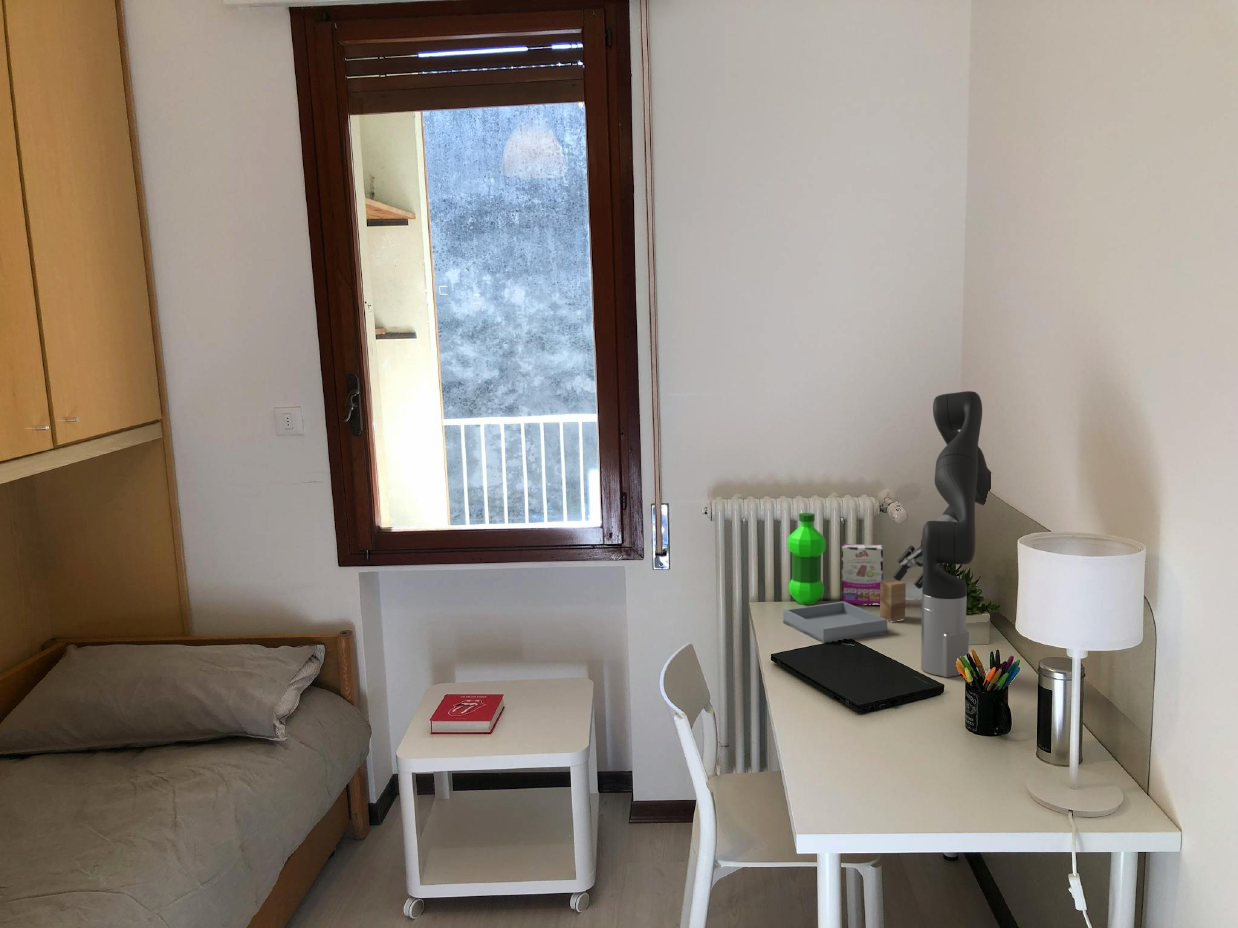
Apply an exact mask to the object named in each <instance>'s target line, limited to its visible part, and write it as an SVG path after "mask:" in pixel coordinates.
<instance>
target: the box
mask: <svg viewBox="0 0 1238 928" xmlns="http://www.w3.org/2000/svg"><path fill="white" fill-rule="evenodd" d="M782 610H783V611H782V613H783V615H782V617H783V618H782V620H783V621H782V623H783V624H785V625H787V626H788V627H791V628H793V629H794V630H796V631H799V632H800V633H803V634H804V635H807V636H808V637H811V638H812V639H814V640H816V641H817V642H820V643H822V644H826V642H828V643H833V642H832V641H834V642H838V640H841V639H847V640H851V639H852V640H854V639H858V638H864V637H871V636H872V637H873V636H877V635H885V634H884V633H886V634H888V621H887V619H885V618H882V617H880V615H877V614H874V613H872V612H870V611H867V610H866V609H863V608H861V607H858V606H857V605H851V604H849V603H846V602H844V601H843V602H842V601H837V602H831V603H830V602H829V603H823V604H815V605H807V606H801V607H800V606H799V607H793V608H786V609H785V608H784V609H782ZM841 641H842V640H841Z"/></svg>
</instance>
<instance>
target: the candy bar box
mask: <svg viewBox="0 0 1238 928" xmlns="http://www.w3.org/2000/svg"><path fill="white" fill-rule="evenodd" d="M881 581H884V545H883V544H855V543H853V544H851V543H850V544H849V543H842V546H841V602H843V601H844V602H846V603H849V604H851V605H854V606H864V605H863V604H867V605H869V604H871V605H872V604H873V603H878V604H880V583H881Z"/></svg>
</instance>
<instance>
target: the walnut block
mask: <svg viewBox="0 0 1238 928" xmlns="http://www.w3.org/2000/svg"><path fill="white" fill-rule="evenodd" d="M906 586H907V585H906V582H904V581H901V580H900V581H898V580H896V579H895V578H893V579H888V580H887V579H886V580H883V581H881V583H880V606H879V609H880V610H879V616H880V617H882V618H885V619H887V620H888V621H897V620H901V619H905V620H906V593H907V591H906V589H907V587H906ZM888 621H887V622H888Z"/></svg>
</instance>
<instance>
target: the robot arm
mask: <svg viewBox="0 0 1238 928" xmlns="http://www.w3.org/2000/svg"><path fill="white" fill-rule="evenodd" d="M982 402H983V401H982V399H981V397H980V395H979V394H978V393H977V392H976V391H972V390H971V391H970V390H967V391H960V392H959V391H958V392H952V393H951V392H950V393H944V394H939V395H937V396H935V398H934V399H933V402H932V403H933V404H932V412H933V413H932V414H933V415H932V416H933V420H934V422H935V425H936V428H937V430H938V432H939V433H940V435H941V437H942V439H943V440H944V442H945V443H946V446H945V447H943V449H942V450H941V451H940V453H939V454H938V456H937V458H936V462H935V470H934V485H935V488H936V490H937V491H938V493H939V495H940V496H941V497H942V498H943V500H944V501H945V502H946V503H947V504H948V507H947V508H946V509H945V510H944V511H943V513H942V514H941V515H940V516H939V517H938V518H937V519H936V520H927V521H926V522H925V523H924V525H923V528H922V532H921V539H920V546H919V547H917V548H916V547H915V546H913V545H912V544H911V545H909V546H908V547H907V548H906V550H905V551H904V552H903V553H902V554H901V556H900V557H899V558H898V559H897V562H898V564H899V567H898V568H897V570H896V571H895V572H894V574H893V579H896V580H898V581H901V580H902V579H904V576H906V574H907V573H908V571H909V570H911V569H916V568H918V567H920V568H921V567H922V572H921V573H920V575H919V576H918V577H917V578H916V580H915V581H914V582H913V583H914V584H913V585H914V586H915V587H916V588H917V589H920V590H921V589H922V594H921V631H920V634H921V639H920V641H921V643H920V651H921V652H920V668H921V670H922V671H924V672H926V673H927V674H931V675H935V676H941V677H943V678H951V677H955V676H961V675H960V674H959V672H958V670H957V667H956V661H957V658H959V657H960V656H965V655H967V654H968V655H969V649H970V648H969V647H970V646H969V644H970V633H969V631H968V630H966V629H967V597H968V596H967V595H968V593H967V592H968V586H967V583H966V581H965V580H963V579H962V578H960V577H957V576H955V575H952V574H950V573H948V572H946V571H945V570H942V569H941V568H942V566H944V564H947V565H968V564H970V563H972V562H973V559H974V556H975V552H976V503H977V504H978V505H982V506H984V504H985V502H986V498H987V494H988V491H990V489H991V473H992V471H991V470H990V469H989V468H988V465H987V462H986V459H985V455H984V452H983V451H982V449H981V447H979V440H980V433H981V427H982V426H981V425H982V419H983V403H982Z"/></svg>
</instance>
